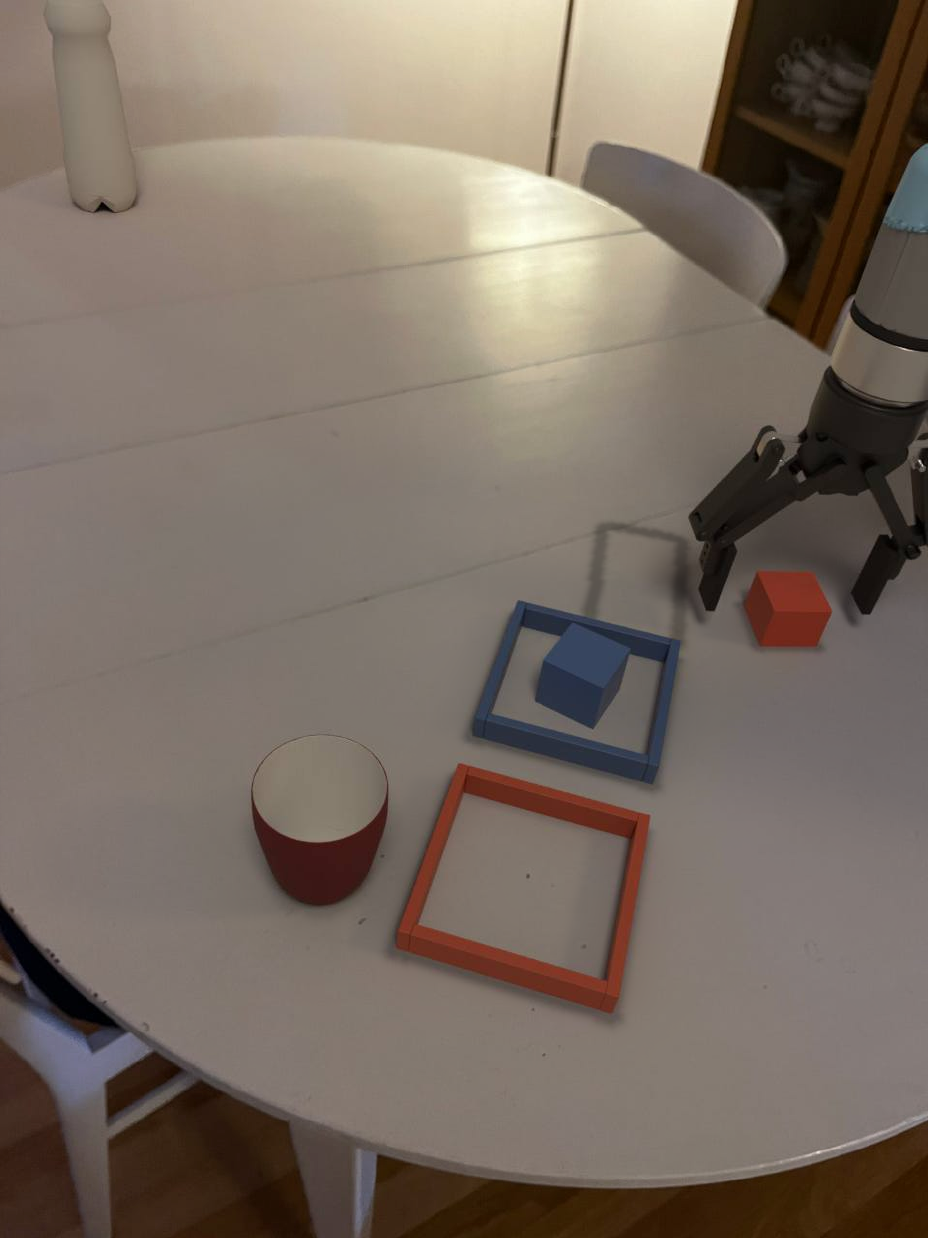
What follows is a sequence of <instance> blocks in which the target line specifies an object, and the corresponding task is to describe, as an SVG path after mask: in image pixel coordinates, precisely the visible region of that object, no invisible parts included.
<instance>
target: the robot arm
mask: <svg viewBox="0 0 928 1238" xmlns="http://www.w3.org/2000/svg"><path fill="white" fill-rule="evenodd" d="M906 165H907V166H906V167H905V170H904V172H903V175H902V176H901V179H900V181H899V183H898V186H897V188H896V190H895V192H894V195H893V197H892V199H891V201H890V204H889V206H888V207H887V210H886V212H885V214H884V217H883V220H882V222H881V224H880V227H879V230H878V233H877V236H876V239H875V241H874V244H873V246H872V249H871V251H870V253H869V257H868V260H867V262H866V265H865V268H864V270H863V273H862V276H861V278H860V281H859V284H858V287H857V289H856V292H855V294H854V297H853V300H852V302H851V305H850V308H849V310H848V313H847V315H846V317H845V320H844V322H843V325H842V328H841V330H840V333H839V335H838V338H837V340H836V343H835V345H834V348H833V351H832V353H831V355H830V359H829V360H830V361H829V363H830V365H828V367H826V369H825V371H824V372H823V375H822V378H821V380H820V383H819V385H818V388H817V390H816V393H815V395H814V398H813V401H812V403H811V405H810V409H809V410H810V411H809V414H808V420H807V422H806V425H805V426H804V427H803V429H802V430H801V431H800V432H799V433H798V434H797V435H790V434H783V433H778V432H777V429H776V428H775V426H774V425H771V424H770V425H765V426H762V427H761V428H760V430H759V431H758V434H757V435H756V437H755V439H754V442H753V444H752V446H751V448H750V450H748V452H747V453H746V454H745V455H744V456H743V457H742V458H741V459H740V460H739V461H738V462H737V463H736V465H734V467H732V469H730V471H729V472H728V473H727V474H726V475H725V476H724V477H723V478H722V479H721V480H720V481H719V482H718V483H717V484H716V485H715V486H714V488H712V490H711V491H710V492H708V494H707V495H706V496H705V497H703V499H702V500H701V501H700V502H699V503H698V504H697V505H696V506H695V507H694V508H693V510H692V511H690V513H689V514H688V516H687V518H688V521H689V523H690V526H691V530H692V533H693V535H694V537H695V540H696V541H698V542H704V544H703V546H702V548H701V551H700V555H699V557H698V562H699V566H700V568H701V569H700V570H701V571H702V577H701V579H700V582H699V586H698V589H697V590H698V592H699V595H700V598H701V601H702V604H703V607H704V610H705V611H706V612H716V609H717V607H718V604H719V602H720V598H721V595H722V593H723V591H724V588H725V585H726V582H727V580H728V577H729V574H730V572H731V569H732V567H733V564H734V561H735V559H736V556H737V553H738V549H737V547H736V542H737V541H738V540H740V539H741V538H743V537H744V536H745V535H747V534H749V533H750V532H751V531H753V530H754V529H756V528H757V527H759V526H760V525H762V524H764V523H765V522H766V521H767V520H769V519H771V518H772V517H774V516H775V515H777V514H778V513H780V512H781V511H782V510H784V509H786V508H787V507H788V506H790V505H792V504H793V503H794V502H804V501H806V500H807V499H808V498H810V497H811V496H813V495H814V494H815V493H817V494H818V495H819V496H820V495H821V496H831V495H836V494H842V495H844V496H848V497H858V496H859V494H860V493H864V492H866V491H868V490H869V492H870V494H871V496H872V498H873V500H874V502H875V503H876V504H875V505H877V508H878V509H879V511H880V514H881V515H882V518H883V519H884V522H885V523H886V526H887V527H888V529H889V531H890V533H891V535H892V536H891V537H890V535H889V534H885V533H880V534H878V536H877V538H876V541H875V543H874V545H873V546H872V549H871V551H870V552H869V555H868V557H867V558H866V560H865V562H864V565H863V566H862V568H861V571H860V573H859V575H858V577H857V579H856V580H855V582H854V585H853V587H852V589H851V591H850V595H851V597H852V599H853V600H854V602H855V604H856V606H857V608H858V610H859V612H860V614H861V616H866V615H867V616H869V615H870V616H871V614H872V612H873V610H874V608H875V607H876V605H877V603H878V601H879V599H880V597H881V595H882V592H883V591H884V589H885V587H886V585H887V583H888V581H894V580H895V579H897V577H898V576H899V575H900V573H901V571H902V569H903V566H904V565H905V563H906V562H907V560H908V561H915V560H917V559H919V558H920V556H921V555H922V550H921V548H920V547H924V546H925V547H927V548H928V432H927V431H926V432H923V433H921V434H920V435H918V433H919V432H920V429H921V427H922V425H923V423H924V421H925V419H926V416H927V415H928V142H927V143H925V144H924V145H922V146H920V148H919V149H917V150H916V151H915V152H914V153H913V155H912V156H911V157H910V158H909V161H908V163H907V164H906ZM917 435H918V437H917ZM916 437H917V439H916ZM790 456H791V457H790ZM789 457H790V458H789ZM787 458H789V459H788V460H787ZM905 462H907V464H908V465H909V468H910V469H909V470H910V482H911V494H912V495H911V496H912V509H913V521H914V523H913V524H911V525H909V524H908V523H907V520H906V518H905V517H904V515H903V512H902V511H901V508H900V507H899V504H898V502H897V500H896V498H895V495H894V492H893V490H892V488H891V487H890V485H889V484H890V483H889V482H888V480H887V478H886V477H887V476H889V475H890V474H892V473H893V472H895V470H897V469H898V468H899V467H901V466H902V465H903V464H905ZM777 467H778V471H777V472H776V473H775V474H774V475H773V473H774V472H775V470H776V469H777ZM800 472H802V474H803V477H804V480H802V481H799V478H798V474H799V473H800Z"/></svg>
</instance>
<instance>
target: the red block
mask: <svg viewBox="0 0 928 1238" xmlns="http://www.w3.org/2000/svg"><path fill="white" fill-rule="evenodd" d="M743 609H744V611H745V613H746V616H747V619H748V620H749V624H750V626H751V629H752V631H753V634H754V636H755V638H756V641H757V643H758V645H759V647H762V648H766V647H767V648H768V647H769V648H770V647H771V648H775V647H776V648H779V647H783V648H784V647H785V648H817V647H818V645H819V642H820V640H821V638H822V635H823V633H824V631H825V629H826V626H827V624H828V622H829V620H830V618H831V615H832V613H833V610H832V607H831V606H830V603H829V602H828V599H827V597H826V596H825V594H824V591H823V589H822V587H821V585H820V583H819V581H818V579H817V577H816V576H815V573H814V572H813V571H800V570H799V571H797V570H795V571H793V570H792V571H789V570H756V572H755V574H754V578H753V580H752V583H751V585H750V588H749V591H748V594H747V596H746V599H745V602H744V605H743Z"/></svg>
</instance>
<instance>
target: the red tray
mask: <svg viewBox="0 0 928 1238" xmlns="http://www.w3.org/2000/svg"><path fill="white" fill-rule="evenodd" d="M464 794H467V795H471V796H475V797H479V798H482V799H486V800H489V801H493V802H497V803H500V804H502V805H503V804H504V805H506V806H510V807H514V808H519V809H522V810H526V811H528V812H533V813H536V814H540V815H542V816H546V817H549V818H550V817H551V818H554V819H557V820H561V821H564V822H569V823H572V824H576V825H578V826H582V827H586V828H589V829H594V830H596V831H600V832H603V833H606V834H607V833H608V834H611V835H615V836H618V837H622V838H625V839H629V840H630V844H629V849H628V855H627V860H626V865H625V870H624V876H623V881H622V886H621V892H620V898H619V903H618V908H617V914H616V918H615V919H616V920H615V923H614V929H613V934H612V940H611V944H610V945H611V946H610V950H609V954H608V961H607V967H606V972H605V977H604V979H601V978H597V977H595V976H591V975H587V974H585V973H582V972H577V971H575V970H571V969H568V968H565V967H561V966H558V965H554V964H551V963H548V962H544V961H541V960H538V959H535V958H531V957H528V956H524V955H521V954H517V953H515V952H512V951H508V950H504V949H501V948H499V947H495V946H491V945H487V944H484V943H481V942H478V941H474V940H471V939H468V938H464V937H461V936H457V935H454V934H452V933H448V932H444V931H441V930H438V929H435V928H431V927H428V926H424V925H421V924H419V923H420V920H421V916H422V914H423V911H424V909H425V906H426V903H427V901H428V897H429V893H430V891H431V888H432V887H433V886H432V885H433V882H434V880H435V877H436V875H437V872H438V869H439V867H440V866H439V865H440V862H441V860H442V857H443V854H444V851H445V848H446V846H447V842H448V839H449V836H450V834H451V831H452V828H453V825H454V822H455V819H456V816H457V814H458V811H459V808H460V805H461V802H462V800H463V796H464ZM650 821H651V815H650V814H647V813H644V812H639V811H636V810H631V809H628V808H625V807H622V806H618V805H614V804H611V803H607V802H603V801H599V800H595V799H592V798H588V797H584V796H581V795H578V794H574V793H570V792H567V791H563V790H560V789H556V788H552V787H548V786H545V785H542V784H538V783H534V782H531V781H528V780H527V781H526V780H523V779H520V778H516V777H512V776H508V775H505V774H501V773H498V772H495V771H494V772H493V771H490V770H487V769H483V768H480V767H476V766H473V765H469V764H465V763H461V762H458V763H457V766H456V769H455V771H454V774H453V777H452V780H451V782H450V785H449V788H448V791H447V793H446V796H445V799H444V801H443V804H442V808H441V810H440V813H439V816H438V819H437V821H436V824H435V826H434V829H433V832H432V835H431V837H430V840H429V842H428V846H427V848H426V852H425V855H424V857H423V860H422V862H421V865H420V868H419V871H418V873H417V876H416V879H415V882H414V885H413V886H412V889H411V893H410V896H409V898H408V901H407V903H406V906H405V909H404V911H403V915H402V917H401V919H400V923H399V925H398V927H397V935H396V947H395V948H396V949H397V950H401V951H403V952H408V953H411V954H414V955H417V956H419V957H420V956H421V957H422V958H426V959H430V960H433V961H437V962H440V963H443V964H446V965H450V966H453V967H456V968H459V969H462V970H466V971H469V972H472V973H476V974H479V975H483V976H486V977H489V978H493V979H496V980H499V981H502V982H506V983H508V984H512V985H516V986H518V987H522V988H525V989H529V990H531V991H535V992H538V993H542V994H544V995H547V996H551V997H555V998H558V999H561V1000H564V1001H568V1002H571V1003H575V1004H578V1005H582V1006H583V1007H584V1006H585V1007H588V1008H591V1009H595V1010H598V1011H601V1012H605V1013H607V1014H611V1015H612V1014H613V1013H614V1012H615V1011H614V1010H615V1008H616V1006H617V1003H618V1001H619V998H620V994H621V987H622V983H623V977H624V971H625V967H626V966H625V965H626V960H627V959H626V958H627V953H628V948H629V942H630V937H631V930H632V925H633V920H634V914H635V907H636V903H637V896H638V891H639V885H640V879H641V873H642V867H643V860H644V855H645V850H646V845H647V839H648V833H649V827H650Z"/></svg>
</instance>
